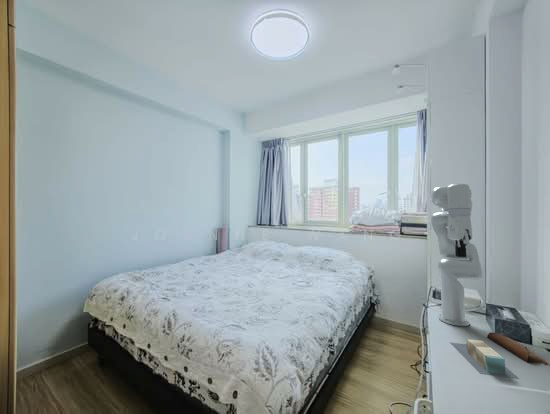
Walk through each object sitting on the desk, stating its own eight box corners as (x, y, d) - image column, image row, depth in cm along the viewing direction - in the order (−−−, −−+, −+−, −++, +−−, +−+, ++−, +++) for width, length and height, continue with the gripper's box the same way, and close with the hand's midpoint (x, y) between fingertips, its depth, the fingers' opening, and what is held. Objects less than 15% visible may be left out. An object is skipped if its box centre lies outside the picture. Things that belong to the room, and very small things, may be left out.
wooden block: (466, 338, 90) (487, 357, 78) (481, 340, 89) (504, 359, 77) (467, 352, 90) (487, 372, 78) (482, 353, 88) (505, 374, 77)
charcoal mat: (449, 343, 97) (449, 342, 97) (480, 347, 94) (480, 345, 94) (480, 375, 77) (480, 373, 77) (520, 380, 75) (519, 378, 75)
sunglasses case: (554, 365, 82) (542, 348, 83) (536, 375, 82) (524, 358, 83) (507, 339, 100) (498, 325, 100) (493, 347, 100) (484, 333, 101)
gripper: (440, 213, 106) (442, 253, 105) (458, 212, 91) (460, 259, 90) (459, 213, 104) (461, 254, 103) (480, 212, 89) (483, 260, 89)
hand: (460, 256), depth 97 cm, fingers closed
